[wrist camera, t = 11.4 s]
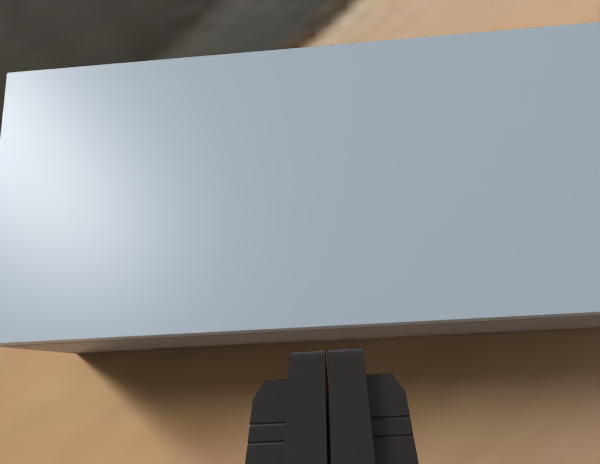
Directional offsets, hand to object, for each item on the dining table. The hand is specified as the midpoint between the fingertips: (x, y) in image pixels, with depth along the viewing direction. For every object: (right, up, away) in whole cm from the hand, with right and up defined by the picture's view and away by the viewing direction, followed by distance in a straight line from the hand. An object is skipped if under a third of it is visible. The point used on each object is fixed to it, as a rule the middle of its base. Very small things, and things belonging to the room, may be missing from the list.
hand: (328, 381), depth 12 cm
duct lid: (0, +5, +9) cm, 10 cm away
